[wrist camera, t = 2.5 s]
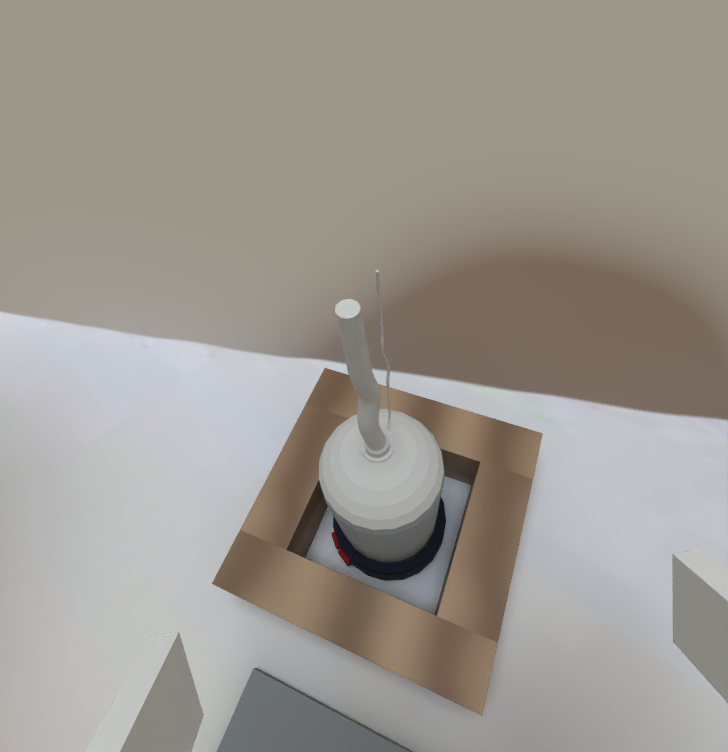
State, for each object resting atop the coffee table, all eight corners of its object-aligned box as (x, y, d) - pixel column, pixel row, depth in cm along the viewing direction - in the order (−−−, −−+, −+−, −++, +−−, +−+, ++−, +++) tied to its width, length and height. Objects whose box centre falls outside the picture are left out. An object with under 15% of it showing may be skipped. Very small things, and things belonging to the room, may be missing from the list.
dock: (238, 592, 32) (211, 583, 27) (334, 397, 39) (324, 367, 35) (470, 704, 27) (481, 715, 23) (526, 459, 35) (542, 433, 31)
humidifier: (317, 551, 33) (146, 374, 11) (364, 456, 36) (298, 187, 15) (420, 602, 30) (443, 498, 9) (458, 494, 34) (539, 240, 13)
